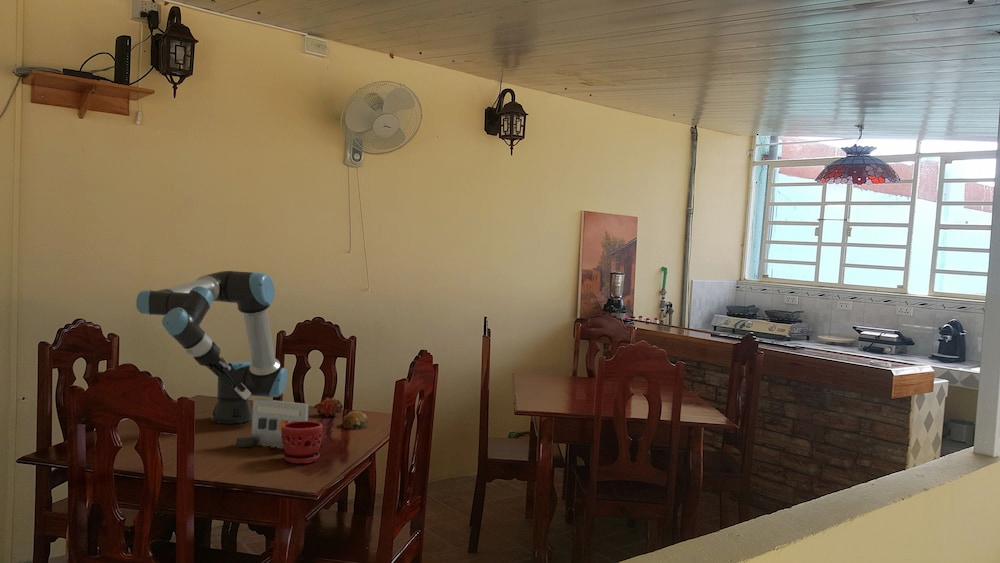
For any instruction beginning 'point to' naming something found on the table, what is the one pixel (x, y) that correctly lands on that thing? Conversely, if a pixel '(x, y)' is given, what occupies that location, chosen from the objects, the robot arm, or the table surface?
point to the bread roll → (355, 420)
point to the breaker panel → (274, 420)
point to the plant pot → (301, 441)
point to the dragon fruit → (329, 407)
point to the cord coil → (245, 442)
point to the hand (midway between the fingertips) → (247, 396)
